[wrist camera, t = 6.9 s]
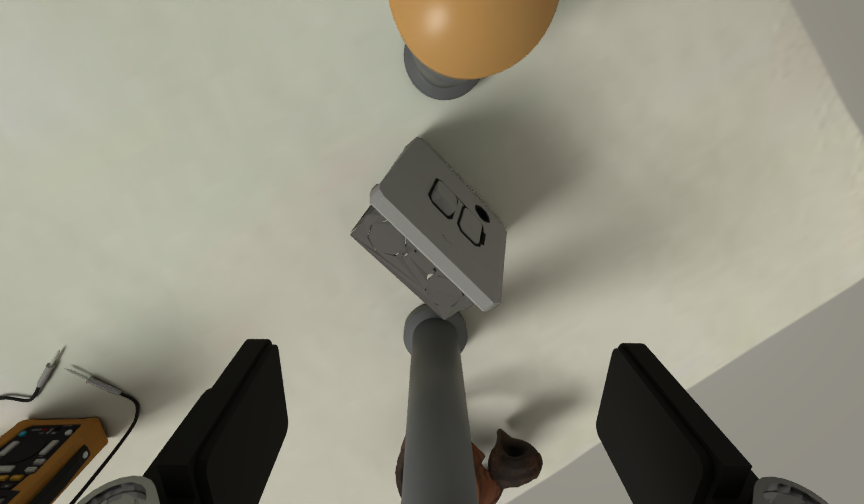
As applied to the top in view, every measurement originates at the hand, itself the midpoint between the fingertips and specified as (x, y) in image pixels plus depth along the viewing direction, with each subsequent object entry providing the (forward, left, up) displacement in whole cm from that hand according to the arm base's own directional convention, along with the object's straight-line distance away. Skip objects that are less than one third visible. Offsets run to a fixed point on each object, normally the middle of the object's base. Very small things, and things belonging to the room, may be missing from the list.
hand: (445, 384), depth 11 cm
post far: (+10, 0, -19) cm, 22 cm away
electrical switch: (0, 0, -19) cm, 19 cm away
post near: (-10, 0, -19) cm, 22 cm away
